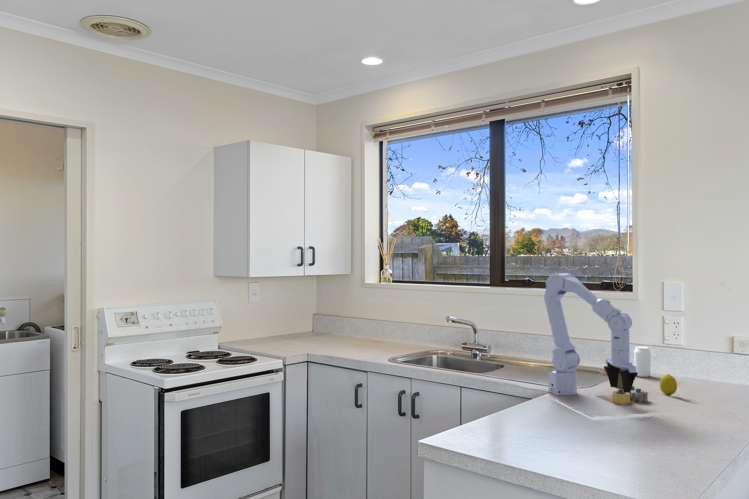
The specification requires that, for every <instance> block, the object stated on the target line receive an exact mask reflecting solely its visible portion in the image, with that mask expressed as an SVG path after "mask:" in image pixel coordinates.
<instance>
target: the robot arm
mask: <svg viewBox="0 0 749 499" xmlns="http://www.w3.org/2000/svg"><path fill="white" fill-rule="evenodd" d="M566 293H574V294H575V295H577V297H579V298H580V299H582V300H584V301H585V302H586V303H588V304H589V305H590V306H591V307H592V312H593V313H594V314H596V315H597V316H598V317H599V318H601V319H602V320H603V321H604V322H605V323H606V324H607V325H608V328H609V329H610V331H611V333H610V335H611V336H610V338H611V340H610V344H611V346H610V348H611V349H610V351H611V353H610V355H611V356H610V358H605V365H604V366H603V369H604V370H605V372H606V375H607V377H608V381H609V385H610V387H611V388H615V387H617V385H618V376H619V373H620V375H621V378H622V383H623V389H622V390H623V392H625V393H628V392H631V388H632V386H634V385H633V384H634V382H635V379H636V378H637V377H638V376H637V375H638V372H636V366H634V364H633V362H632V361H630V329H631V327H632V326H633V321H632V320H633V319H632V317H630V315H629V313H626V312H625V313H624V312H622V311H621V309H617V308H616V307H615V306H614V305H613V304H611V301H610V300H609V299H605V298H598V297H597V296H596V295H595V294H594V293H593V292H592V291H591V290H589V289H588V288H587V287H586V286H585V285H584V284H583V283H582V282H581V281H580V280H579V279H578V278H577V277H576V276H574V275H573V274H571V273H569V272H565V273H553V274H550V275H549V277H548V278H547V279H546V281H545V291H544V296H543V299H544V303H545V307H546V312H547V316H548V321H549V325H550V330H551V333H552V338H553V343H554V347H553V349H552V350H551V352H552V360H551V363H552V365H553V367H554V369H555V370H552V371H550V372H549V373H548V392H549V393H551V394H553V395H555V396H563V395H564V396H571V395H574V396H575V395H576V394H578V377H577V372H578V369H577V368H578V366H579V365H580V362H581V358H580V354H578V352H577V350H576V347H575V346H574V345H573V343H571V340H570V336H569V332H568V327H567V324H566V318H565V315H564V310H563V306H562V301H561V299H563V297H564V296H565V294H566ZM620 369H624V370H625V371H620Z"/></svg>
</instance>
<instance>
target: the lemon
mask: <svg viewBox="0 0 749 499" xmlns="http://www.w3.org/2000/svg"><path fill="white" fill-rule="evenodd" d="M659 388H660V391H661V392H662V393H663V394H665V395H666V396H668V397H671V395H674V394H675V393H676V392H677V389H678V384H677V380H676V378H675V377H674V376H673V375H671V374H669V373H666V374H665V375H663V376H662V377H661V378H660V381H659Z"/></svg>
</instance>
